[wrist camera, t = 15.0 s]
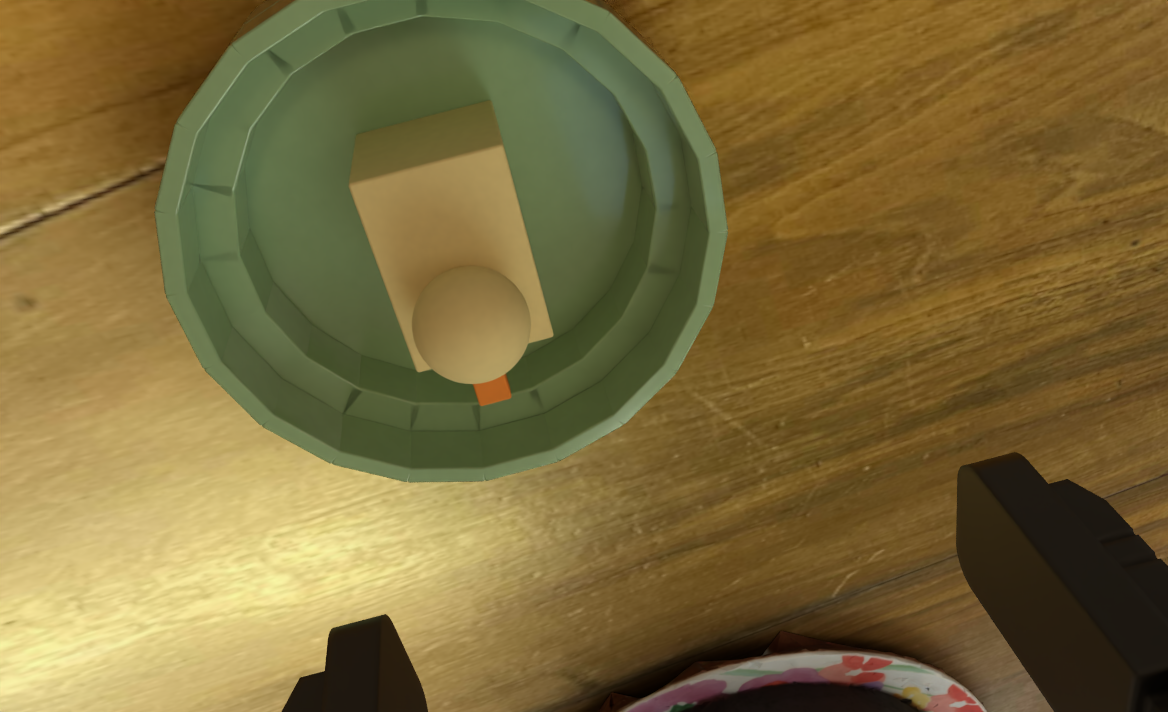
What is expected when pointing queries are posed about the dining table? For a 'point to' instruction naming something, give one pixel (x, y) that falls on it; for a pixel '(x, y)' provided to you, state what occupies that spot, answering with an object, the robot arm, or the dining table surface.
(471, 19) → the green bowl
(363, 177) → the duck
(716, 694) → the chocolate cake
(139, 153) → the dining table surface
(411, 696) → the robot arm
